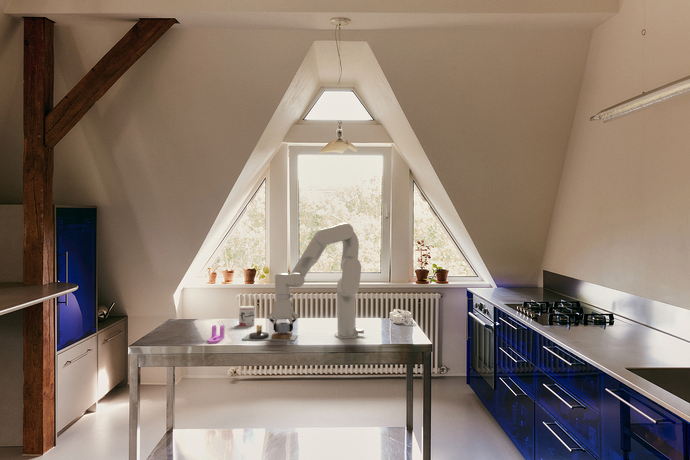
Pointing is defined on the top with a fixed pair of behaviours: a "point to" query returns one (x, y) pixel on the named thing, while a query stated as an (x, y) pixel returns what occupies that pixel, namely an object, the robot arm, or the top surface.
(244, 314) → the ink box
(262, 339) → the mat
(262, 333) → the hub
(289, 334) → the stand
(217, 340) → the bracket
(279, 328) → the ring
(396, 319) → the skeletal toy car
